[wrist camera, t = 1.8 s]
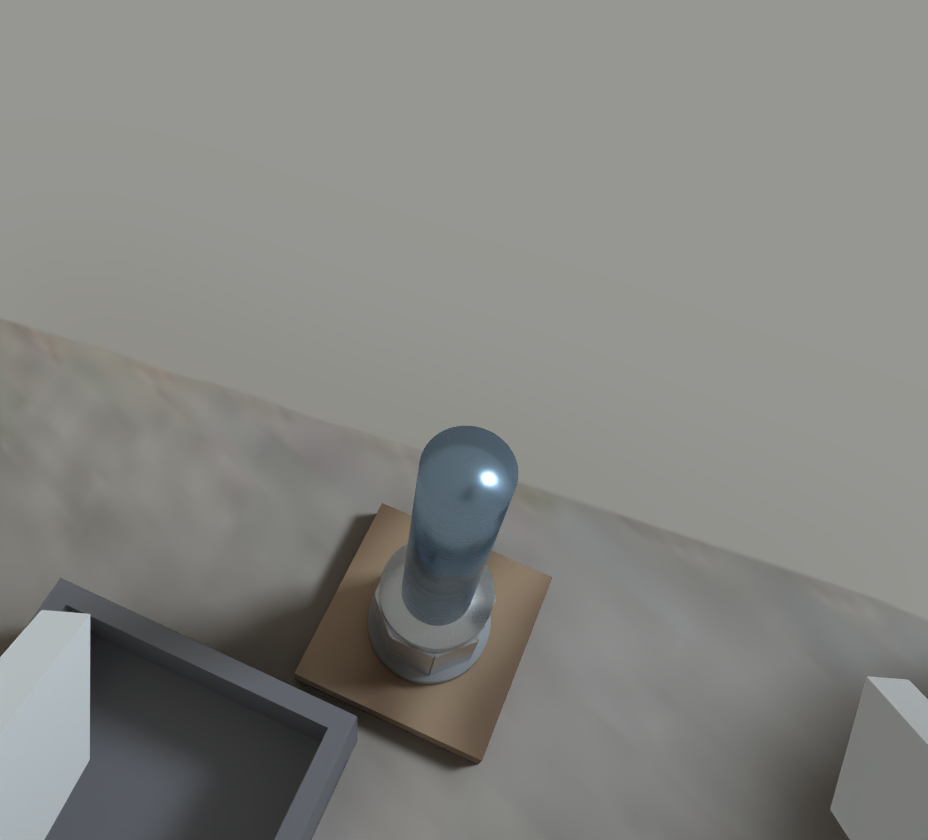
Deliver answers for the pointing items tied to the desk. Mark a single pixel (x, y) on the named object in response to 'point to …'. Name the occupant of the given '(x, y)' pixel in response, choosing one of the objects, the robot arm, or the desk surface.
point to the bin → (194, 739)
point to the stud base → (404, 689)
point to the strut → (447, 552)
